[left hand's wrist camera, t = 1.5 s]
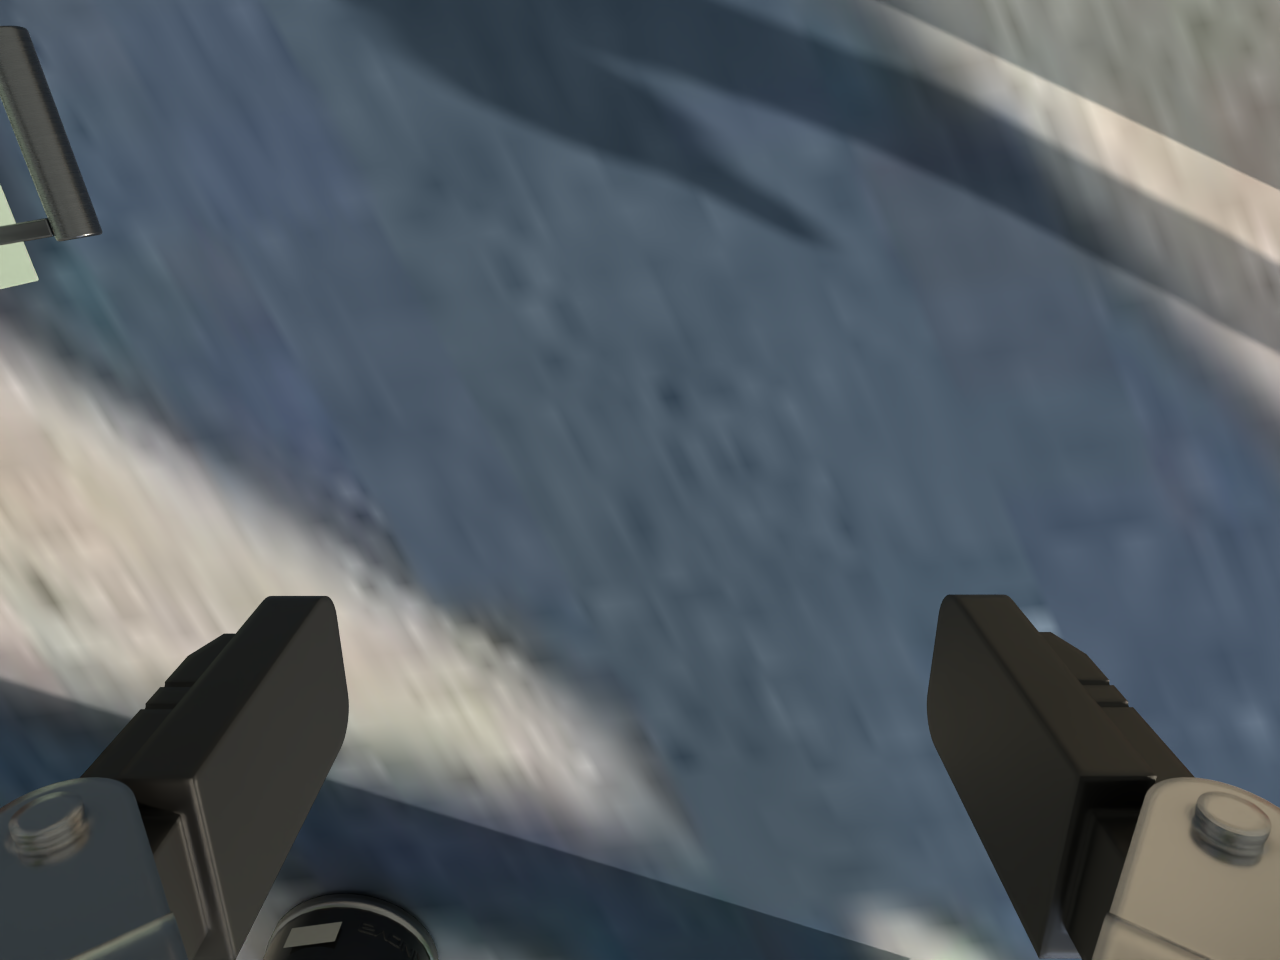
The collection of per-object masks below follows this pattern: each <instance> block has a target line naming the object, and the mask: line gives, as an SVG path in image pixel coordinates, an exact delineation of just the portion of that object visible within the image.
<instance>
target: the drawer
mask: <svg viewBox="0 0 1280 960" xmlns="http://www.w3.org/2000/svg"><path fill="white" fill-rule="evenodd" d="M0 97H1V100H2V102H3V105H4V107H5V110H6V112H7V115H8V118H9V120H10V123H11V125H12V128H13V130H14V133H15V136H16V138H17V141H18V143H19V146H20V148H21V151H22V153H23V156H24V159H25V161H26V164H27V166H28V169H29V171H30V174H31V176H32V179H33V182H34V184H35V187H36V189H37V192H38V194H39V197H40V200H41V202H42V205H43V207H44V210H45V212H46V215H47V217H48V218H45V219H39V220H33V221H28V222H22V223H16V222H15V220H14V217H13V215H12V212H11V210H10V207H9V205H8V202H7V200H6V197H5V195H4V192H3V190H2V187H1V185H0V289H3V288H8V287H12V286H17V285H21V284H26V283H30V282H34V281H38V280H39V279H38V276H37V274H36V272H35V269H34V267H33V264H32V262H31V259H30V257H29V254H28V252H27V249H26V247H25V244H24V241H30V240H35V239H41V238H47V237H53V236H55V238H56V240H57V241H66V240H72V239H78V238H84V237H89V236H95V235H101V234H102V229H101V227H100V224H99V221H98V219H97V216H96V213H95V210H94V208H93V205H92V202H91V200H90V197H89V194H88V192H87V189H86V186H85V183H84V181H83V178H82V175H81V173H80V170H79V167H78V165H77V162H76V159H75V156H74V154H73V151H72V148H71V146H70V143H69V140H68V138H67V135H66V132H65V130H64V127H63V124H62V121H61V119H60V116H59V113H58V111H57V108H56V105H55V103H54V100H53V97H52V94H51V92H50V89H49V86H48V84H47V81H46V78H45V76H44V73H43V70H42V67H41V65H40V62H39V59H38V57H37V54H36V51H35V49H34V46H33V43H32V40H31V38H30V35H29V32H28V30H27V29H26V28H24V27H19V26H0Z"/></svg>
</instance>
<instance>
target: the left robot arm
mask: <svg viewBox="0 0 1280 960" xmlns="http://www.w3.org/2000/svg"><path fill="white" fill-rule="evenodd" d="M348 713H349V700H348V691H347V684H346V677H345V671H344V664H343V657H342V650H341V643H340V636H339V629H338V622H337V615H336V610H335V607H334V604H333V602H332V600H331V599H330V598H329V597H327V596H269V597H267V598H265V599H264V600H263V602H262V603H261V604H260V605H259V606H258V608H257V609H256V610H255V611H254V612H253V614H252V615H251V616H250V617H249V618H248V620H247V621H246V622H245V623H244V624H243V626H242V627H241V628H240V629H239V630H238V632H237V633H236V634H223V635H221V636H220V637H218V638H216V639H215V640H213V641H211V642H210V643H208V644H207V645H205V646H203V647H202V648H200V649H199V650H197V651H195V652H194V653H192V654H190V655H189V656H188V657H187V658H186V659H185V660H184V661H183V662H182V663H181V665H180V666H179V667H178V668H177V669H176V670H175V671H174V672H173V674H172V675H171V676H170V677H169V678H168V679H167V680H166V681H165V687H160V688H159V689H158V690H157V692H156V693H155V694H154V695H153V696H152V697H151V698H150V699H149V701H148V702H147V703H146V708H145V709H141V710H140V711H139V712H138V713H137V714H136V715H135V716H134V717H133V719H132V720H131V721H130V722H129V723H128V724H127V725H126V726H125V728H124V729H123V730H122V731H121V732H120V733H119V734H118V735H117V737H116V738H115V739H114V740H113V741H112V742H111V743H110V744H109V746H108V747H107V748H106V749H105V750H104V751H103V752H102V753H101V755H100V756H99V757H98V758H97V759H96V760H95V761H94V762H93V764H92V765H91V766H90V767H89V768H88V769H87V770H86V771H85V773H84V774H83V775H82V776H81V777H80V778H79V779H72V780H67V781H63V782H58V783H55V784H52V785H48V786H45V787H42V788H40V789H37V790H35V791H32V792H30V793H28V794H26V795H23V796H21V797H19V798H17V799H15V800H14V801H12V802H10V803H8V804H7V805H5V806H3V807H2V808H0V960H235V959H236V957H237V955H238V953H239V951H240V949H241V947H242V945H243V943H244V941H245V939H246V937H247V935H248V933H249V931H250V929H251V927H252V925H253V923H254V921H255V919H256V917H257V915H258V913H259V911H260V909H261V907H262V905H263V903H264V901H265V899H266V897H267V895H268V893H269V891H270V889H271V887H272V885H273V883H274V881H275V879H276V877H277V875H278V873H279V871H280V869H281V867H282V865H283V863H284V861H285V859H286V857H287V855H288V853H289V851H290V849H291V847H292V845H293V843H294V841H295V839H296V837H297V835H298V833H299V831H300V829H301V827H302V825H303V823H304V821H305V819H306V817H307V815H308V813H309V811H310V809H311V807H312V805H313V803H314V801H315V799H316V797H317V795H318V793H319V791H320V789H321V787H322V785H323V783H324V781H325V779H326V777H327V775H328V773H329V771H330V769H331V767H332V765H333V763H334V761H335V759H336V757H337V755H338V753H339V751H340V749H341V746H342V744H343V741H344V738H345V734H346V729H347V723H348ZM927 716H928V724H929V730H930V734H931V738H932V741H933V743H934V746H935V748H936V750H937V752H938V754H939V756H940V758H941V760H942V762H943V764H944V766H945V768H946V770H947V772H948V774H949V776H950V778H951V780H952V782H953V784H954V786H955V788H956V790H957V792H958V795H959V797H960V799H961V801H962V803H963V805H964V807H965V809H966V811H967V813H968V815H969V817H970V819H971V821H972V823H973V825H974V827H975V829H976V831H977V833H978V835H979V837H980V839H981V841H982V843H983V845H984V847H985V849H986V851H987V853H988V855H989V858H990V860H991V862H992V864H993V866H994V868H995V870H996V872H997V874H998V876H999V878H1000V880H1001V882H1002V884H1003V886H1004V888H1005V890H1006V892H1007V894H1008V896H1009V898H1010V900H1011V902H1012V904H1013V906H1014V908H1015V910H1016V912H1017V914H1018V916H1019V918H1020V921H1021V923H1022V925H1023V927H1024V929H1025V931H1026V933H1027V935H1028V937H1029V939H1030V941H1031V943H1032V945H1033V947H1034V949H1035V951H1036V953H1037V955H1038V957H1039V958H1081V959H1082V960H1280V808H1278V807H1277V806H1275V805H1273V804H1272V803H1270V802H1268V801H1266V800H1265V799H1263V798H1261V797H1259V796H1257V795H1254V794H1252V793H1250V792H1248V791H1245V790H1243V789H1240V788H1238V787H1235V786H1232V785H1228V784H1225V783H1222V782H1217V781H1213V780H1208V779H1201V778H1195V777H1194V776H1193V775H1192V774H1191V773H1190V771H1189V770H1188V769H1187V768H1186V767H1185V766H1184V765H1183V764H1182V762H1181V761H1180V760H1179V759H1178V758H1177V757H1176V756H1175V754H1174V753H1173V752H1172V751H1171V750H1170V749H1169V748H1168V746H1167V745H1166V744H1165V743H1164V742H1163V741H1162V740H1161V739H1160V737H1159V736H1158V735H1157V734H1156V733H1155V732H1154V731H1153V729H1152V728H1151V727H1150V726H1149V725H1148V724H1147V723H1146V721H1145V720H1144V719H1143V718H1142V717H1141V716H1140V715H1139V714H1138V712H1137V711H1136V710H1135V709H1134V708H1133V707H1129V706H1128V701H1127V700H1126V699H1125V698H1124V696H1123V695H1122V694H1121V693H1120V692H1119V691H1118V690H1117V689H1116V687H1115V686H1114V685H1109V679H1108V678H1107V677H1106V676H1105V675H1104V674H1103V673H1102V671H1101V670H1100V669H1099V668H1098V667H1097V666H1096V665H1095V664H1094V662H1093V661H1092V660H1091V659H1090V658H1089V657H1088V656H1087V654H1085V653H1083V652H1082V651H1080V650H1079V649H1077V648H1075V647H1074V646H1072V645H1071V644H1069V643H1067V642H1066V641H1064V640H1063V639H1061V638H1059V637H1058V636H1056V635H1054V634H1053V633H1051V632H1038V631H1037V629H1036V628H1035V627H1034V626H1033V625H1032V623H1031V622H1030V621H1029V620H1028V618H1027V617H1026V616H1025V615H1024V614H1023V612H1022V611H1021V610H1020V609H1019V607H1018V606H1017V605H1016V604H1015V603H1014V601H1013V600H1012V599H1011V598H1010V597H1009V596H1007V595H947V596H946V597H945V598H944V599H943V601H942V603H941V607H940V611H939V616H938V623H937V630H936V638H935V645H934V652H933V659H932V666H931V673H930V680H929V687H928V695H927ZM263 960H438V954H437V950H436V947H435V944H434V942H433V940H432V938H431V936H430V935H429V933H428V932H427V930H426V929H425V928H424V927H423V926H422V924H421V923H420V922H419V921H418V920H416V919H415V918H414V917H413V916H412V915H410V914H409V913H407V912H406V911H404V910H403V909H401V908H399V907H397V906H395V905H393V904H391V903H389V902H386V901H383V900H380V899H377V898H373V897H369V896H364V895H356V894H333V895H326V896H321V897H317V898H314V899H311V900H308V901H305V902H303V903H301V904H299V905H298V906H296V907H294V908H293V909H292V910H290V911H289V912H288V913H287V914H286V915H285V916H284V917H283V918H282V919H281V920H280V922H279V923H278V925H277V926H276V928H275V930H274V932H273V934H272V937H271V939H270V941H269V943H268V946H267V950H266V954H265V956H264V958H263Z"/></svg>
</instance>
